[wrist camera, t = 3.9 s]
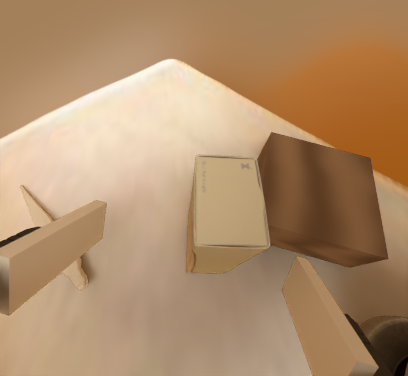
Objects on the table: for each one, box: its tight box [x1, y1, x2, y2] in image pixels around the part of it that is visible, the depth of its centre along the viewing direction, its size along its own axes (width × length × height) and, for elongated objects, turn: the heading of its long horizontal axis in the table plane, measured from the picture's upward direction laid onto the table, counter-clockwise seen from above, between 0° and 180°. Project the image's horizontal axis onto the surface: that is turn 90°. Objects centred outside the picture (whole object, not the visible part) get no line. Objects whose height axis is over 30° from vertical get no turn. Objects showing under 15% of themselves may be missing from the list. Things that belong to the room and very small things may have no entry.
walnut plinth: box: [258, 132, 388, 267], centre depth 24 cm, size 12×12×5 cm
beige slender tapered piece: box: [20, 185, 88, 290], centre depth 22 cm, size 15×3×2 cm, turn 44°
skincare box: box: [186, 155, 270, 273], centre depth 18 cm, size 6×4×12 cm
